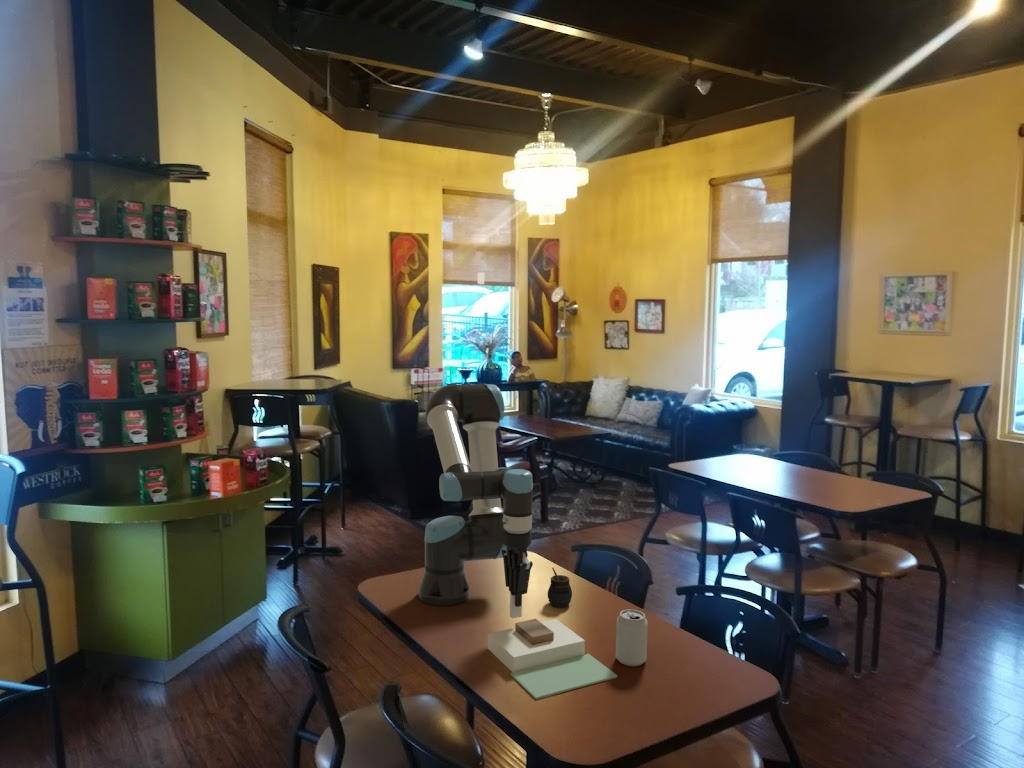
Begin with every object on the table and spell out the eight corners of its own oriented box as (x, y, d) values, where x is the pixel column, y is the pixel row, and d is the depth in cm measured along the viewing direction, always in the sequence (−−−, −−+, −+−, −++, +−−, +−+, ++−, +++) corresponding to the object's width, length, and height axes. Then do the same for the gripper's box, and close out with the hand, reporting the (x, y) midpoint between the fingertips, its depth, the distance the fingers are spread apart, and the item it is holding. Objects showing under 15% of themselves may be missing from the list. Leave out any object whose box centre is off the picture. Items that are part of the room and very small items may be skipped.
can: (627, 670, 173) (629, 622, 171) (609, 657, 179) (610, 610, 178) (652, 664, 176) (654, 616, 175) (633, 651, 183) (635, 605, 182)
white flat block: (487, 648, 183) (488, 633, 182) (555, 633, 192) (555, 618, 192) (513, 673, 170) (514, 657, 170) (584, 655, 180) (584, 640, 179)
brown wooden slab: (515, 630, 184) (515, 623, 184) (535, 626, 187) (535, 618, 187) (532, 645, 176) (532, 637, 176) (553, 640, 179) (553, 632, 179)
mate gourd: (559, 611, 206) (560, 577, 205) (541, 603, 212) (541, 570, 211) (577, 605, 211) (577, 571, 210) (558, 597, 216) (559, 565, 215)
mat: (510, 675, 170) (510, 673, 170) (588, 655, 180) (588, 653, 180) (535, 699, 159) (536, 697, 159) (617, 677, 169) (617, 675, 169)
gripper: (493, 524, 192) (492, 609, 194) (516, 538, 180) (514, 629, 183) (518, 521, 195) (516, 605, 198) (542, 534, 184) (540, 623, 186)
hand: (515, 616), depth 190 cm, fingers closed
